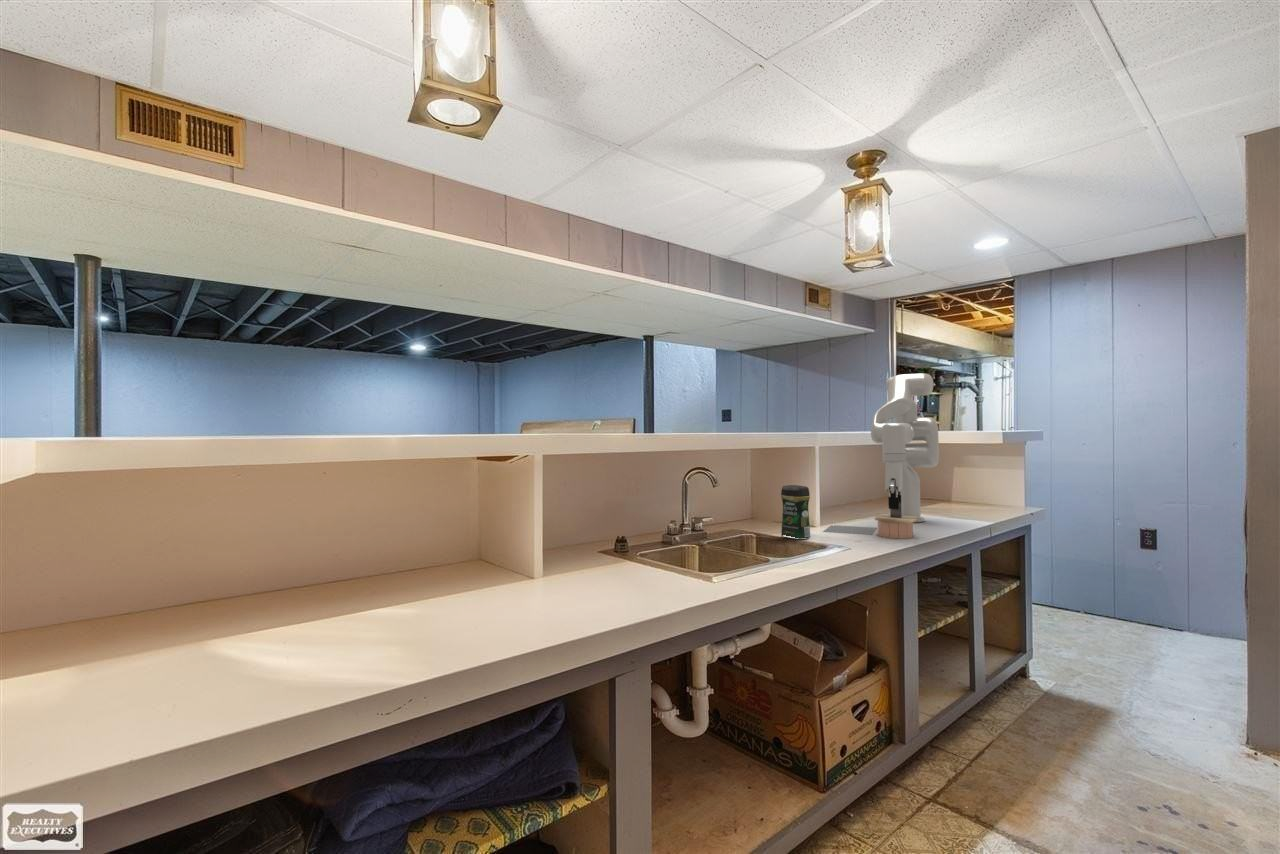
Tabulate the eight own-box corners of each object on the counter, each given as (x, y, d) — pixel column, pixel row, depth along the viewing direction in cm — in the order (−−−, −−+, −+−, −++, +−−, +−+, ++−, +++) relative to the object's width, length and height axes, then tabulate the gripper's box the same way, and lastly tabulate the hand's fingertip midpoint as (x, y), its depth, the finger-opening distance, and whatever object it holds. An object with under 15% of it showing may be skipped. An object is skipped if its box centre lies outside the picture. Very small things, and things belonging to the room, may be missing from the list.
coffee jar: (777, 537, 208) (776, 484, 209) (792, 534, 213) (791, 483, 213) (799, 541, 201) (798, 486, 201) (814, 538, 205) (813, 485, 206)
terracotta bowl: (880, 533, 213) (880, 516, 214) (914, 535, 208) (913, 518, 208) (876, 538, 204) (876, 521, 204) (911, 540, 199) (911, 523, 199)
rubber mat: (831, 526, 230) (831, 525, 230) (877, 529, 222) (877, 527, 222) (822, 533, 216) (822, 531, 216) (871, 536, 207) (871, 534, 207)
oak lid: (877, 516, 216) (876, 499, 216) (919, 518, 209) (918, 501, 209) (872, 521, 203) (871, 504, 203) (916, 523, 197) (916, 505, 197)
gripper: (885, 457, 216) (886, 503, 216) (879, 459, 201) (880, 509, 200) (907, 457, 212) (908, 504, 212) (903, 459, 197) (904, 510, 197)
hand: (895, 507), depth 206 cm, fingers open, 9 cm apart
